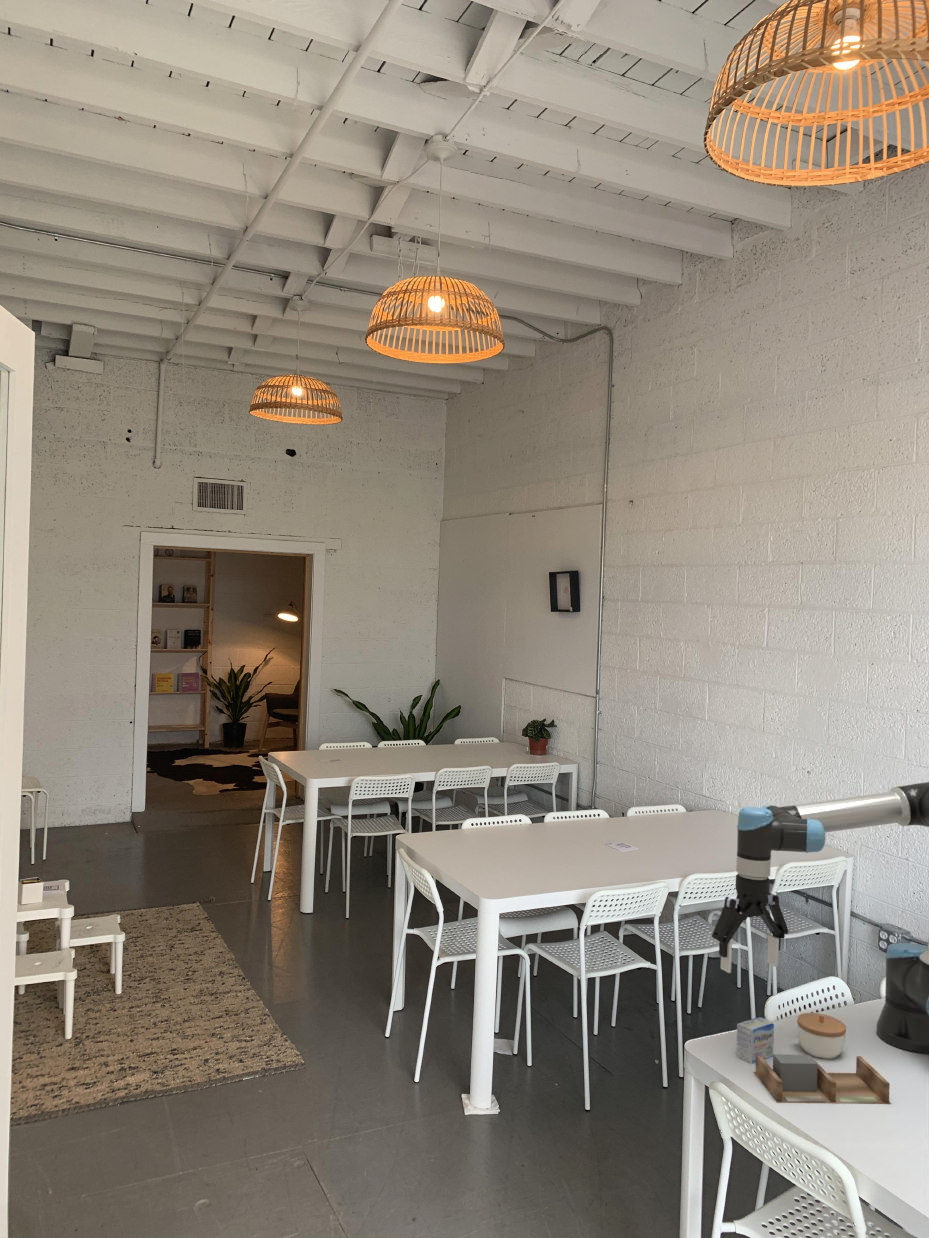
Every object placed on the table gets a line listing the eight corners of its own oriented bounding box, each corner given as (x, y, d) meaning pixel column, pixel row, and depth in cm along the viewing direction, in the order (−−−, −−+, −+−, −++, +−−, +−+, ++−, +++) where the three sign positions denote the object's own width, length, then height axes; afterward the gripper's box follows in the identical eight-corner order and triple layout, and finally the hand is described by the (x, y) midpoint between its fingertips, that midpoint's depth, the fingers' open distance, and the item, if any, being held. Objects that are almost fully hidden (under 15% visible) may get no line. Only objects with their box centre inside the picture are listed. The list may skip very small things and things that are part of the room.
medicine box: (751, 1068, 201) (752, 1030, 201) (735, 1060, 204) (736, 1022, 204) (773, 1060, 205) (774, 1022, 205) (757, 1052, 209) (758, 1015, 209)
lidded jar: (849, 1069, 202) (850, 1027, 202) (800, 1062, 204) (801, 1021, 204) (839, 1048, 213) (840, 1008, 213) (792, 1042, 215) (793, 1003, 215)
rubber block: (808, 1082, 193) (809, 1054, 193) (816, 1091, 189) (817, 1063, 189) (772, 1081, 193) (773, 1054, 193) (779, 1091, 189) (780, 1063, 189)
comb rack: (753, 1076, 197) (753, 1053, 197) (860, 1077, 198) (860, 1055, 198) (776, 1107, 184) (777, 1082, 184) (891, 1108, 185) (892, 1084, 185)
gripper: (783, 867, 213) (780, 956, 213) (698, 874, 203) (695, 967, 203) (806, 876, 206) (803, 967, 206) (719, 883, 196) (716, 979, 196)
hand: (749, 967), depth 204 cm, fingers open, 13 cm apart
